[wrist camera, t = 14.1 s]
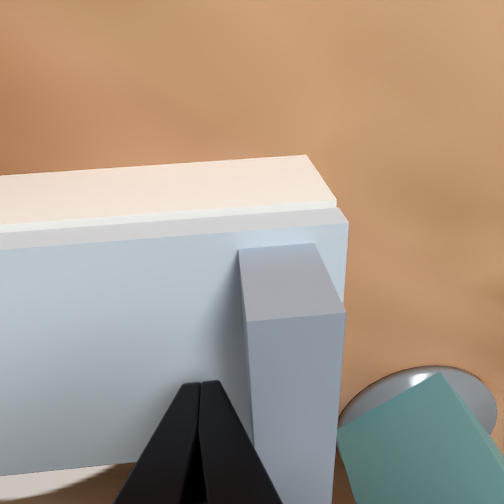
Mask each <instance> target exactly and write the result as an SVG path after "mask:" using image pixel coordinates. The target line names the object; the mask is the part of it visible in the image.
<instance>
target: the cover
mask: <svg viewBox="0 0 504 504" xmlns="http://www.w3.org/2000/svg"><path fill="white" fill-rule="evenodd" d="M348 229H349V222H348V221H347V219H346V218H345V216H344V215H343V213H342V212H341V210H340V209H339V208H326V209H313V210H299V211H286V212H273V213H260V214H246V215H233V216H220V217H206V218H193V219H180V220H167V221H153V222H140V223H127V224H113V225H100V226H87V227H73V228H60V229H47V230H34V231H20V232H7V233H0V476H6V475H15V474H24V473H34V472H43V471H54V470H63V469H73V468H81V467H92V466H102V465H111V464H121V463H130V462H137V460H138V459H139V457H140V455H141V454H142V452H143V450H144V448H145V447H146V445H147V443H148V442H149V440H150V438H151V436H152V435H153V433H154V431H155V430H156V428H157V426H158V424H159V423H160V421H161V419H162V418H163V416H164V414H165V412H166V411H167V409H168V407H169V406H170V404H171V402H172V400H173V399H174V397H175V395H176V394H177V392H178V390H179V388H180V387H181V385H182V384H184V383H189V382H203V381H210V380H219V381H220V382H221V384H222V386H223V388H224V390H225V391H226V393H227V395H228V397H229V399H230V401H231V403H232V405H233V407H234V409H235V411H236V413H237V415H238V417H239V419H240V421H241V423H242V424H243V426H244V428H245V430H246V432H247V434H248V436H249V438H250V440H251V442H252V444H253V446H254V448H255V450H256V452H257V454H258V456H259V458H260V459H261V461H262V463H263V465H264V467H265V469H266V471H267V473H268V475H269V477H270V479H271V481H272V483H273V485H274V487H275V489H276V491H277V493H278V494H279V496H280V498H281V500H282V502H283V504H331V502H332V489H333V476H334V463H335V451H336V438H337V425H338V412H339V400H340V387H341V374H342V361H343V349H344V336H345V323H346V311H345V309H344V307H343V298H344V284H345V271H346V257H347V243H348Z"/></svg>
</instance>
